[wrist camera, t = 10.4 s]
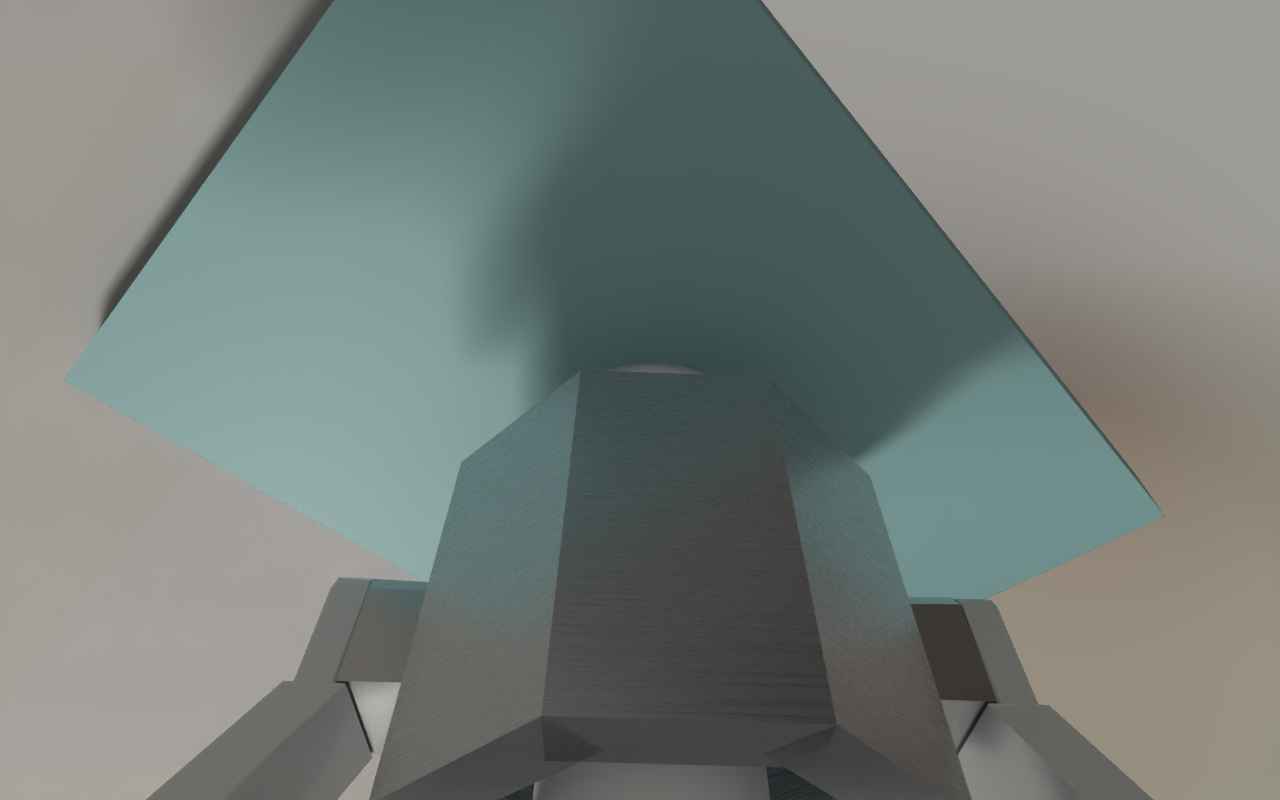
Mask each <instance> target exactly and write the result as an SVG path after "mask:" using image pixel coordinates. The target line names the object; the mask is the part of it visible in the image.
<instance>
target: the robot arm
mask: <svg viewBox="0 0 1280 800" xmlns="http://www.w3.org/2000/svg"><path fill="white" fill-rule="evenodd" d="M427 586H428V582H420V581H401V580H382V579H365V578H338V580H337V581H336V582H335V583H334V585H333V586H332V587H331V589H330V591H329V594H328V596H327V599H326V601H325V604H324V606H323V609H322V611H321V614H320V616H319V619H318V621H317V624H316V626H315V629H314V632H313V634H312V637H311V639H310V642H309V644H308V647H307V649H306V652H305V654H304V657H303V659H302V662H301V664H300V667H299V669H298V672H297V674H296V677H295V679H294V681H283V682H281V683H280V684H279V685H278V686H277V687H276V688H275V689H273V690H272V691H271V692H270V693H269V694H268V695H266V696H265V697H264V698H263V699H262V700H261V701H260V702H258V703H257V704H256V705H255V706H254V707H253V708H251V709H250V710H249V711H248V712H247V713H246V714H245V715H243V716H242V717H241V718H240V719H239V720H238V721H236V722H235V723H234V724H233V725H232V726H231V727H230V728H228V729H227V730H226V731H225V732H224V733H223V734H221V735H220V736H219V737H218V738H217V739H216V740H214V741H213V742H212V743H211V744H210V745H209V746H208V747H206V748H205V749H204V750H203V751H202V752H201V753H199V754H198V755H197V756H196V757H195V758H194V759H193V760H191V761H190V762H189V763H188V764H187V765H186V766H184V767H183V768H182V769H181V770H180V771H179V772H178V773H176V774H175V775H174V776H173V777H172V778H171V779H169V780H168V781H167V782H166V783H165V784H164V785H163V786H161V787H160V788H159V789H158V790H157V791H156V792H154V793H153V794H152V795H151V796H150V797H149V798H148V799H146V800H337V799H338V798H339V797H340V795H341V794H342V793H343V792H344V791H345V789H346V788H347V787H348V786H349V785H350V784H351V782H352V781H353V780H354V779H355V778H356V776H357V775H358V774H359V773H360V772H361V770H362V769H363V768H364V767H365V766H366V764H367V763H368V762H369V761H370V760H371V758H372V755H371V754H382V751H383V748H384V744H385V740H386V737H387V733H388V729H389V726H390V722H391V718H392V715H393V711H394V707H395V703H396V700H397V696H398V692H399V689H400V685H401V681H402V678H403V674H404V670H405V667H406V663H407V659H408V656H409V652H410V648H411V645H412V641H413V637H414V634H415V630H416V626H417V623H418V619H419V615H420V612H421V608H422V604H423V601H424V597H425V593H426V590H427ZM908 598H909V601H910V605H911V608H912V611H913V614H914V617H915V620H916V624H917V627H918V630H919V633H920V636H921V640H922V643H923V646H924V649H925V652H926V655H927V659H928V662H929V665H930V668H931V671H932V675H933V678H934V681H935V684H936V687H937V690H938V694H939V697H940V700H941V703H942V706H943V709H944V713H945V716H946V719H947V722H948V725H949V729H950V732H951V735H952V738H953V741H954V744H955V748H956V751H957V754H958V757H959V760H960V764H961V767H962V770H963V773H964V776H965V779H966V783H967V786H968V789H969V792H970V795H971V798H972V800H1153V799H1152V798H1151V797H1150V796H1148V795H1147V794H1146V793H1145V792H1144V791H1143V790H1142V789H1141V788H1140V787H1138V786H1137V785H1136V784H1135V783H1134V782H1133V781H1132V780H1131V779H1130V778H1129V777H1127V776H1126V775H1125V774H1124V773H1123V772H1122V771H1121V770H1120V769H1119V768H1118V767H1116V766H1115V765H1114V764H1113V763H1112V762H1111V761H1110V760H1109V759H1108V758H1106V757H1105V756H1104V755H1103V754H1102V753H1101V752H1100V751H1099V750H1098V749H1096V748H1095V747H1094V746H1093V745H1092V744H1091V743H1090V742H1089V741H1088V740H1087V739H1086V738H1084V737H1083V736H1082V735H1081V734H1080V733H1079V732H1078V731H1077V730H1075V729H1074V728H1073V727H1072V726H1071V725H1070V724H1069V723H1068V722H1067V721H1066V720H1065V719H1063V718H1062V717H1061V716H1060V715H1059V714H1058V713H1057V712H1056V711H1054V710H1053V709H1052V708H1051V707H1050V706H1049V705H1048V706H1047V705H1038V703H1037V700H1036V698H1035V695H1034V693H1033V691H1032V689H1031V686H1030V684H1029V681H1028V679H1027V677H1026V674H1025V672H1024V670H1023V667H1022V665H1021V663H1020V660H1019V658H1018V656H1017V653H1016V651H1015V648H1014V646H1013V644H1012V641H1011V639H1010V636H1009V634H1008V632H1007V629H1006V627H1005V625H1004V622H1003V620H1002V617H1001V615H1000V613H999V610H998V608H997V606H996V605H995V604H994V603H993V602H992V601H991V600H986V599H953V598H947V597H908Z"/></svg>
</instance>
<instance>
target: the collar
mask: <svg viewBox="0 0 1280 800" xmlns="http://www.w3.org/2000/svg"><path fill="white" fill-rule="evenodd" d="M579 762H605V763H641V764H677V765H713V766H750V767H766V769H767V778H768V786H769V795H770V800H972V798H971V795H970V792H969V789H968V786H967V783H966V779H965V776H964V773H963V770H962V767H961V764H960V760H959V757H958V754H957V751H956V748H955V744H954V741H953V738H952V735H951V732H950V729H949V725H948V722H947V719H946V716H945V713H944V709H943V706H942V703H941V700H940V697H939V694H938V690H937V687H936V684H935V681H934V678H933V675H932V671H931V668H930V665H929V662H928V659H927V655H926V652H925V649H924V646H923V643H922V640H921V636H920V633H919V630H918V627H917V624H916V620H915V617H914V614H913V611H912V608H911V605H910V601H909V598H908V595H907V592H906V589H905V586H904V582H903V579H902V576H901V573H900V570H899V566H898V563H897V560H896V557H895V554H894V551H893V547H892V544H891V541H890V538H889V535H888V531H887V528H886V525H885V522H884V519H883V516H882V512H881V509H880V506H879V503H878V500H877V497H876V493H875V490H874V487H873V484H872V481H871V477H870V476H869V475H868V474H867V473H866V472H865V471H864V470H863V469H862V468H861V467H860V466H859V465H858V464H857V463H856V462H855V461H854V460H853V459H852V458H851V457H850V456H849V455H848V454H847V453H846V452H845V451H844V450H843V449H842V448H841V447H840V446H839V445H838V444H837V443H836V442H835V441H833V440H832V439H831V438H830V437H829V436H828V435H827V434H826V433H825V432H824V431H823V430H822V429H821V428H820V427H819V426H818V425H817V424H816V423H815V422H814V421H813V420H812V419H811V418H810V417H809V416H808V415H807V414H806V413H805V412H804V411H803V410H802V409H801V408H800V407H799V406H798V405H797V404H796V403H795V402H793V401H792V400H791V399H790V398H789V397H788V396H787V395H786V394H785V393H784V392H783V391H782V390H781V389H780V388H779V387H778V386H777V385H776V384H775V383H774V382H773V381H772V380H771V379H770V378H769V377H761V376H733V375H706V374H679V373H651V372H624V371H596V370H580V371H579V372H577V373H576V374H575V375H573V376H572V377H571V378H570V379H568V380H567V381H566V382H564V383H563V384H562V385H561V386H559V387H558V388H557V389H555V390H554V391H553V392H551V393H550V394H549V395H548V396H546V397H545V398H544V399H542V400H541V401H540V402H538V403H537V404H536V405H535V406H533V407H532V408H531V409H529V410H528V411H527V412H526V413H524V414H523V415H522V416H520V417H519V418H518V419H516V420H515V421H514V422H513V423H511V424H510V425H509V426H507V427H506V428H505V429H503V430H502V431H501V432H500V433H498V434H497V435H496V436H494V437H493V438H492V439H491V440H489V441H488V442H487V443H485V444H484V445H483V446H481V447H480V448H479V449H478V450H476V451H475V452H474V453H472V454H471V455H470V456H469V457H467V458H466V459H465V460H463V461H462V462H461V465H460V468H459V472H458V476H457V479H456V483H455V487H454V490H453V494H452V498H451V501H450V505H449V509H448V512H447V516H446V520H445V523H444V527H443V531H442V534H441V538H440V542H439V545H438V549H437V553H436V556H435V560H434V564H433V568H432V571H431V575H430V579H429V582H428V586H427V590H426V593H425V597H424V601H423V604H422V608H421V612H420V615H419V619H418V623H417V626H416V630H415V634H414V637H413V641H412V645H411V648H410V652H409V656H408V659H407V663H406V667H405V670H404V674H403V678H402V681H401V685H400V689H399V692H398V696H397V700H396V703H395V707H394V711H393V715H392V718H391V722H390V726H389V729H388V733H387V737H386V740H385V744H384V748H383V751H382V755H381V759H380V762H379V766H378V770H377V773H376V777H375V781H374V784H373V788H372V792H371V795H370V799H369V800H533V792H534V784H535V783H536V782H538V781H540V780H542V779H544V778H547V777H549V776H551V775H553V774H555V773H557V772H560V771H562V770H564V769H566V768H568V767H570V766H573V765H575V764H577V763H579Z"/></svg>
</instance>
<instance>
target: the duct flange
mask: <svg viewBox="0 0 1280 800" xmlns="http://www.w3.org/2000/svg"><path fill="white" fill-rule="evenodd" d="M580 370H596V371H624V372H651V373H679V374H706V375H733V376H761V377H769V378H770V379H771V380H772V381H773V382H774V383H775V384H776V385H777V386H778V387H779V388H780V389H781V390H782V391H783V392H784V393H785V394H786V395H787V396H788V397H789V398H790V399H791V400H792V401H793V402H795V403H796V404H797V405H798V406H799V407H800V408H801V409H802V410H803V411H804V412H805V413H806V414H807V415H808V416H809V417H810V418H811V419H812V420H813V421H814V422H815V423H816V424H817V425H818V426H819V427H820V428H821V429H822V430H823V431H824V432H825V433H826V434H827V435H828V436H829V437H830V438H831V439H832V440H833V441H835V442H836V443H837V444H838V445H839V446H840V447H841V448H842V449H843V450H844V451H845V452H846V453H847V454H848V455H849V456H850V457H851V458H852V459H853V460H854V461H855V462H856V463H857V464H858V465H859V466H860V467H861V468H862V469H863V470H864V471H865V472H866V473H867V474H868V475H869V476H870V477H871V481H872V484H873V487H874V490H875V493H876V497H877V500H878V503H879V506H880V509H881V512H882V516H883V519H884V522H885V525H886V528H887V531H888V535H889V538H890V541H891V544H892V547H893V551H894V554H895V557H896V560H897V563H898V566H899V570H900V573H901V576H902V579H903V582H904V586H905V589H906V592H907V595H908V597H947V598H953V599H987V598H989V597H991V596H993V595H995V594H997V593H1000V592H1002V591H1004V590H1006V589H1008V588H1011V587H1013V586H1015V585H1017V584H1019V583H1021V582H1024V581H1026V580H1028V579H1030V578H1032V577H1034V576H1037V575H1039V574H1041V573H1043V572H1045V571H1047V570H1049V569H1051V568H1054V567H1056V566H1058V565H1060V564H1063V563H1065V562H1067V561H1069V560H1071V559H1073V558H1075V557H1078V556H1080V555H1082V554H1084V553H1086V552H1088V551H1091V550H1093V549H1095V548H1097V547H1099V546H1101V545H1103V544H1106V543H1108V542H1110V541H1112V540H1114V539H1117V538H1118V537H1121V536H1123V535H1125V534H1127V533H1129V532H1132V531H1134V530H1136V529H1138V528H1140V527H1143V526H1145V525H1147V524H1149V523H1151V522H1153V521H1155V520H1158V519H1160V518H1162V517H1164V516H1165V515H1164V514H1163V513H1162V511H1161V510H1160V508H1159V507H1158V505H1157V504H1156V502H1155V501H1154V500H1153V498H1152V497H1151V495H1150V494H1149V492H1148V491H1147V489H1146V488H1145V487H1144V485H1143V484H1142V482H1141V481H1140V479H1139V478H1138V477H1137V476H1136V474H1135V473H1134V472H1133V471H1132V469H1131V468H1130V467H1129V466H1128V464H1127V463H1126V462H1125V460H1124V459H1123V458H1122V457H1121V455H1120V454H1119V453H1118V452H1117V450H1116V449H1115V448H1114V446H1113V445H1112V444H1111V443H1110V441H1109V440H1108V439H1107V438H1106V436H1105V435H1104V434H1103V433H1102V431H1101V430H1100V429H1099V428H1098V426H1097V425H1096V424H1095V422H1094V421H1093V420H1092V419H1091V417H1090V416H1089V415H1088V414H1087V412H1086V411H1085V410H1084V408H1083V407H1082V406H1081V405H1080V403H1079V402H1078V401H1077V400H1076V398H1075V397H1074V396H1073V395H1072V393H1071V392H1070V391H1069V389H1068V388H1067V387H1066V386H1065V384H1064V383H1063V382H1062V381H1061V379H1060V378H1059V377H1058V376H1057V374H1056V373H1055V372H1054V370H1053V369H1052V368H1051V367H1050V365H1049V364H1048V363H1047V362H1046V360H1045V359H1044V358H1043V357H1042V355H1041V354H1040V353H1039V352H1038V350H1037V349H1036V348H1035V346H1034V345H1033V344H1032V343H1031V341H1030V340H1029V339H1028V338H1027V336H1026V335H1025V334H1024V332H1023V331H1022V330H1021V329H1020V327H1019V326H1018V325H1017V324H1016V322H1015V321H1014V320H1013V319H1012V317H1011V316H1010V315H1009V313H1008V312H1007V311H1006V310H1005V308H1004V307H1003V306H1002V305H1001V303H1000V302H999V301H998V300H997V298H996V297H995V296H994V295H993V293H992V292H991V291H990V290H989V288H988V287H987V286H986V284H985V283H984V282H983V281H982V279H981V278H980V277H979V276H978V274H977V273H976V272H975V271H974V269H973V268H972V267H971V265H970V264H969V263H968V262H967V260H966V259H965V258H964V257H963V255H962V254H961V253H960V251H959V250H958V249H957V248H956V247H955V245H954V244H953V243H952V241H951V240H950V239H949V238H948V236H947V235H946V234H945V232H944V231H943V230H942V229H941V228H940V226H939V225H938V224H937V222H936V221H935V220H934V219H933V217H932V216H931V215H930V214H929V213H928V211H927V210H926V208H925V207H924V206H923V205H922V203H921V202H920V201H919V200H918V198H917V197H916V196H915V195H914V193H913V192H912V191H911V189H910V188H909V187H908V186H907V184H906V183H905V182H904V181H903V179H902V178H901V177H900V176H899V174H898V173H897V172H896V171H895V169H894V168H893V167H892V166H891V164H890V163H889V162H888V160H887V159H886V158H885V157H884V156H883V154H882V153H881V151H880V150H879V149H878V148H877V146H876V145H875V144H874V143H873V141H872V140H871V139H870V138H869V136H868V135H867V134H866V132H865V131H864V130H863V129H862V127H861V126H860V125H859V124H858V122H857V121H856V120H855V119H854V117H853V116H852V115H851V114H850V112H849V111H848V110H847V108H846V107H845V106H844V105H843V104H842V102H841V101H840V100H839V98H838V97H837V96H836V94H835V93H834V92H833V91H832V90H831V88H830V87H829V86H828V85H827V83H826V82H825V81H824V79H823V78H822V77H821V76H820V74H819V73H818V72H817V71H816V69H815V68H814V67H813V65H812V64H811V63H810V62H809V60H808V59H807V58H806V57H805V55H804V54H803V53H802V51H801V50H800V49H799V48H798V46H797V45H796V44H795V43H794V42H793V40H792V39H791V38H790V36H789V35H788V34H787V33H786V31H785V30H784V29H783V27H782V26H781V25H780V24H779V22H778V21H777V20H776V19H775V17H774V16H773V15H772V13H771V12H770V11H769V10H768V8H767V7H766V6H765V5H764V4H763V2H762V1H761V0H334V1H333V2H332V4H331V5H330V7H329V8H328V9H327V11H326V12H325V14H324V15H323V16H322V18H321V19H320V21H319V22H318V23H317V25H316V26H315V28H314V29H313V30H312V32H311V33H310V35H309V36H308V37H307V39H306V40H305V42H304V43H303V44H302V46H301V47H300V49H299V50H298V51H297V53H296V54H295V56H294V57H293V58H292V60H291V61H290V63H289V64H288V65H287V67H286V68H285V70H284V71H283V73H282V74H281V75H280V77H279V78H278V80H277V81H276V82H275V84H274V85H273V87H272V88H271V89H270V91H269V92H268V94H267V95H266V96H265V98H264V99H263V101H262V102H261V103H260V105H259V106H258V108H257V109H256V110H255V112H254V113H253V115H252V116H251V117H250V119H249V120H248V122H247V123H246V124H245V126H244V127H243V129H242V130H241V131H240V133H239V134H238V136H237V137H236V138H235V140H234V141H233V143H232V144H231V146H230V147H229V148H228V150H227V151H226V153H225V154H224V155H223V157H222V158H221V160H220V161H219V162H218V164H217V165H216V167H215V168H214V169H213V171H212V172H211V174H210V175H209V176H208V178H207V179H206V181H205V182H204V183H203V185H202V186H201V188H200V189H199V190H198V192H197V193H196V195H195V196H194V197H193V199H192V200H191V202H190V203H189V204H188V206H187V207H186V209H185V210H184V212H183V213H182V214H181V216H180V217H179V219H178V220H177V221H176V223H175V224H174V226H173V227H172V228H171V230H170V231H169V233H168V234H167V235H166V237H165V238H164V240H163V241H162V242H161V244H160V245H159V247H158V248H157V249H156V251H155V252H154V254H153V255H152V256H151V258H150V259H149V261H148V262H147V263H146V265H145V266H144V268H143V269H142V270H141V272H140V273H139V275H138V276H137V277H136V279H135V280H134V282H133V283H132V285H131V286H130V287H129V289H128V290H127V292H126V293H125V294H124V296H123V297H122V299H121V300H120V301H119V303H118V304H117V306H116V307H115V308H114V310H113V311H112V313H111V314H110V315H109V317H108V318H107V320H106V321H105V322H104V324H103V325H102V327H101V328H100V329H99V331H98V332H97V334H96V335H95V336H94V338H93V339H92V341H91V342H90V343H89V345H88V346H87V348H86V349H85V351H84V352H83V353H82V355H81V356H80V358H79V359H78V360H77V362H76V363H75V365H74V366H73V367H72V369H71V370H70V372H69V373H68V374H67V376H66V377H65V379H64V381H66V382H68V383H69V384H71V385H73V386H75V387H76V388H78V389H80V390H82V391H84V392H85V393H87V394H89V395H91V396H93V397H94V398H96V399H98V400H100V401H102V402H103V403H105V404H107V405H109V406H110V407H112V408H114V409H116V410H118V411H119V412H121V413H123V414H125V415H127V416H128V417H130V418H132V419H134V420H136V421H137V422H139V423H141V424H143V425H145V426H146V427H148V428H150V429H152V430H153V431H155V432H157V433H159V434H161V435H162V436H164V437H166V438H168V439H170V440H171V441H173V442H175V443H177V444H179V445H180V446H182V447H184V448H186V449H187V450H189V451H191V452H193V453H195V454H196V455H198V456H200V457H202V458H204V459H205V460H207V461H209V462H211V463H213V464H214V465H216V466H218V467H220V468H221V469H223V470H225V471H227V472H229V473H230V474H232V475H234V476H236V477H238V478H239V479H241V480H243V481H245V482H247V483H248V484H250V485H252V486H254V487H255V488H257V489H259V490H261V491H263V492H264V493H266V494H268V495H270V496H272V497H273V498H275V499H277V500H279V501H281V502H282V503H284V504H286V505H288V506H289V507H291V508H293V509H295V510H297V511H298V512H300V513H302V514H304V515H306V516H307V517H309V518H311V519H313V520H315V521H316V522H318V523H320V524H322V525H324V526H325V527H327V528H329V529H331V530H332V531H334V532H336V533H338V534H340V535H341V536H343V537H345V538H347V539H349V540H350V541H352V542H354V543H356V544H358V545H359V546H361V547H363V548H365V549H366V550H368V551H370V552H372V553H374V554H375V555H377V556H379V557H381V558H383V559H384V560H386V561H388V562H390V563H392V564H393V565H395V566H397V567H399V568H400V569H402V570H404V571H406V572H408V573H409V574H411V575H413V576H415V577H417V578H418V579H420V580H422V581H424V582H429V579H430V575H431V571H432V568H433V564H434V560H435V556H436V553H437V549H438V545H439V542H440V538H441V534H442V531H443V527H444V523H445V520H446V516H447V512H448V509H449V505H450V501H451V498H452V494H453V490H454V487H455V483H456V479H457V476H458V472H459V468H460V465H461V462H462V461H463V460H465V459H466V458H467V457H469V456H470V455H471V454H472V453H474V452H475V451H476V450H478V449H479V448H480V447H481V446H483V445H484V444H485V443H487V442H488V441H489V440H491V439H492V438H493V437H494V436H496V435H497V434H498V433H500V432H501V431H502V430H503V429H505V428H506V427H507V426H509V425H510V424H511V423H513V422H514V421H515V420H516V419H518V418H519V417H520V416H522V415H523V414H524V413H526V412H527V411H528V410H529V409H531V408H532V407H533V406H535V405H536V404H537V403H538V402H540V401H541V400H542V399H544V398H545V397H546V396H548V395H549V394H550V393H551V392H553V391H554V390H555V389H557V388H558V387H559V386H561V385H562V384H563V383H564V382H566V381H567V380H568V379H570V378H571V377H572V376H573V375H575V374H576V373H577V372H579V371H580ZM533 800H770V795H769V786H768V778H767V769H766V767H750V766H713V765H677V764H641V763H605V762H579V763H577V764H575V765H573V766H570V767H568V768H566V769H564V770H562V771H560V772H557V773H555V774H553V775H551V776H549V777H547V778H544V779H542V780H540V781H538V782H536V783H535V784H534V792H533Z"/></svg>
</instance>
